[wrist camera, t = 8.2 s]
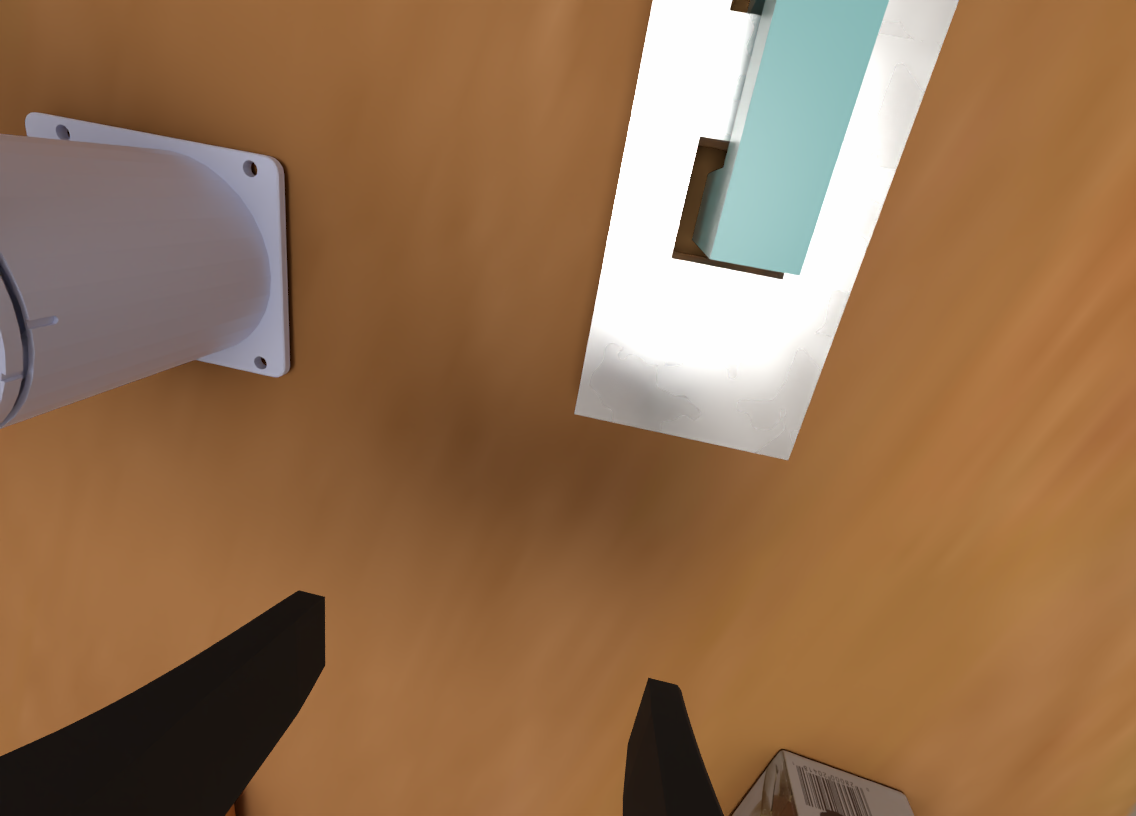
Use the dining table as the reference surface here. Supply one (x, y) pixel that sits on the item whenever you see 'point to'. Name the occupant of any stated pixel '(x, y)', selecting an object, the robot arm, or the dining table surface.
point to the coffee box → (818, 792)
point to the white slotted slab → (725, 290)
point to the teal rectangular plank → (787, 131)
